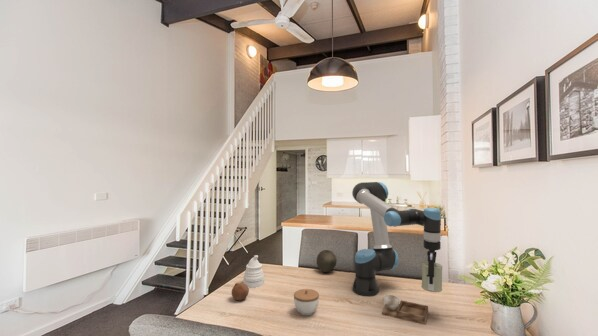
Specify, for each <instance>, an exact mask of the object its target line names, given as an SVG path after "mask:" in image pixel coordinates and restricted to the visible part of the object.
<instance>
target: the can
mask: <svg viewBox="0 0 598 336" xmlns="http://www.w3.org/2000/svg"><path fill="white" fill-rule="evenodd" d="M427 275H428V261H423V262H422V263H421V288H422V289H423V290H425V291H427V292H430V293H441V292H443V265H442V264H440V263H439V262H435V263H434V291H431V290H428V276H427Z"/></svg>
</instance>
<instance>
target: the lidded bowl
mask: <svg viewBox="0 0 598 336" xmlns="http://www.w3.org/2000/svg"><path fill="white" fill-rule="evenodd" d="M319 296H320V295H319V292H318V291H317V290H315V289H311V288H302V289H298V290H296V291H295V292H294V293H293V297H294V298H293V299H294V300H293V301H294V306H295V309H296V310H297V311H298V313H299V314H300V315H301V316H311V315H313V314H314V313H315V311H316V310H317V309H318V306H319Z"/></svg>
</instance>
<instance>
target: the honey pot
mask: <svg viewBox="0 0 598 336" xmlns="http://www.w3.org/2000/svg"><path fill="white" fill-rule="evenodd" d="M258 259H259V255H257V254H255V255H253V257H252V258H251V259H250V260H249V261H248V263H247V264H246V266H245V267H246V269H245V270H244V274H243V283H244V284H246V285H247V286H248V287H249V289H256V287H257V288H260V286H261V287H263V286H264V285H265V274H264V271H263V268H262V267H263V264H262V263H260V261H259V260H258ZM263 284H264V285H263ZM262 285H263V286H262Z"/></svg>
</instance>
